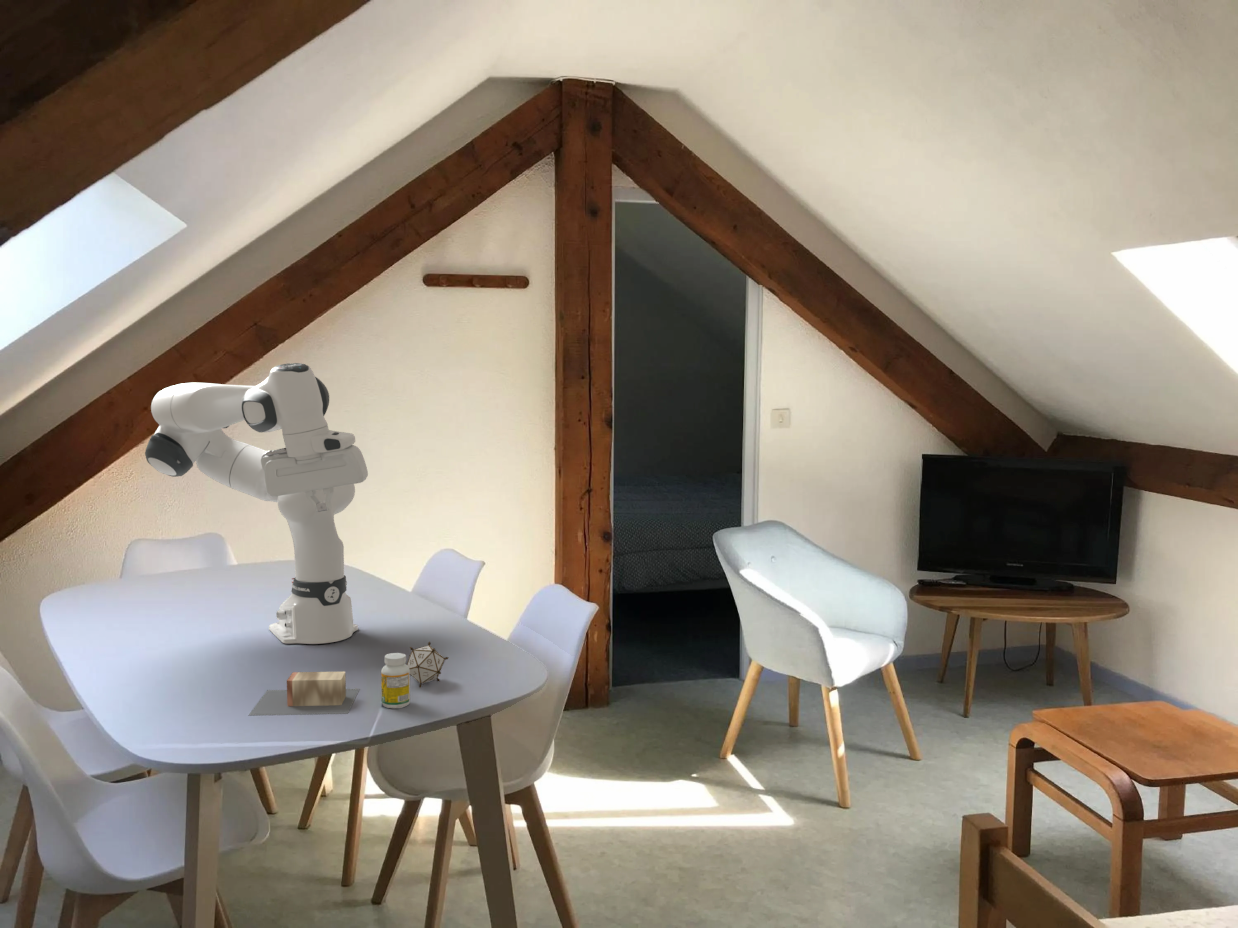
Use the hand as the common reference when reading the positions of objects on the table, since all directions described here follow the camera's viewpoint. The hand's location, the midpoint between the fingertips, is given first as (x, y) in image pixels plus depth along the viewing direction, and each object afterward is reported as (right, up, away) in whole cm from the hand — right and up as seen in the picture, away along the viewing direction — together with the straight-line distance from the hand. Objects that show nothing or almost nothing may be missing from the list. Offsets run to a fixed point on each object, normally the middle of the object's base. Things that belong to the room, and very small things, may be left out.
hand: (324, 510), depth 211 cm
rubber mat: (0, -37, -10) cm, 38 cm away
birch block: (-3, -34, -11) cm, 35 cm away
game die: (+20, -36, +3) cm, 41 cm away
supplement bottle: (+17, -37, -9) cm, 42 cm away
